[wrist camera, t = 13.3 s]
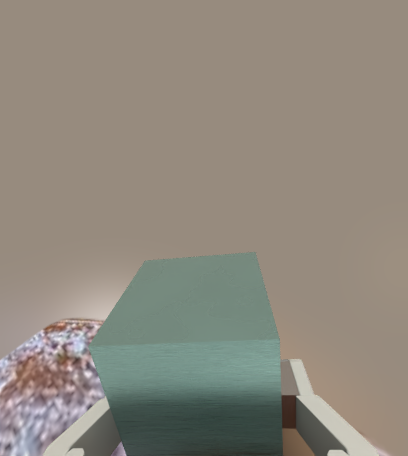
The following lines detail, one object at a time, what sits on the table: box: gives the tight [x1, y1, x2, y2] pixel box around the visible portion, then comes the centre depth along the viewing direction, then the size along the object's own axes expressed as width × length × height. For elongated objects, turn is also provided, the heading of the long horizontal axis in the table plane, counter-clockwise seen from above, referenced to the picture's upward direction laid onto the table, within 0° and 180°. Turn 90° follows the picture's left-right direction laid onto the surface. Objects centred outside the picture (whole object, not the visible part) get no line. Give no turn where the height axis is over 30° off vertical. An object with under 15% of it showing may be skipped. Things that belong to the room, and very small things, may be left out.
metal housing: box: [88, 252, 283, 456], centre depth 10 cm, size 5×5×11 cm
